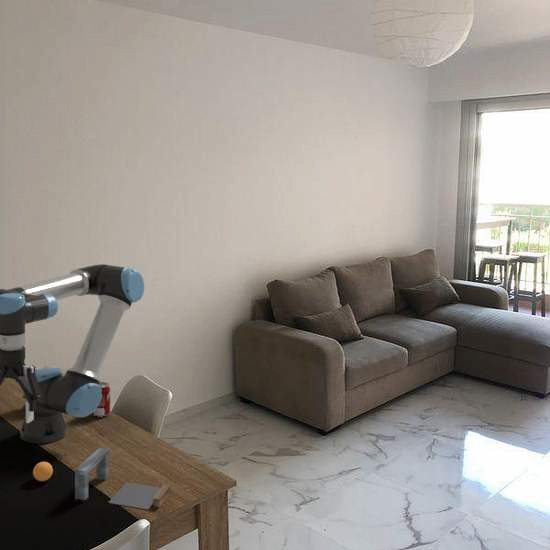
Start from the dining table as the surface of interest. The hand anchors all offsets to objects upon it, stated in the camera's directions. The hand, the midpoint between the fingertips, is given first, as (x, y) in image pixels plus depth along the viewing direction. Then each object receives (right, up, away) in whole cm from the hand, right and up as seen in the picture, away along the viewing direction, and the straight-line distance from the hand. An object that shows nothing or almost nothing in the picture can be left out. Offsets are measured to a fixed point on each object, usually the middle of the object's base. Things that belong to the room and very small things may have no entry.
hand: (12, 418), depth 183 cm
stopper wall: (+45, -22, -6) cm, 51 cm away
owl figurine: (-10, -9, +55) cm, 56 cm away
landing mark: (+38, -21, -5) cm, 44 cm away
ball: (+9, -16, +1) cm, 18 cm away
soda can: (+12, -11, +51) cm, 53 cm away
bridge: (+24, -20, -2) cm, 32 cm away
